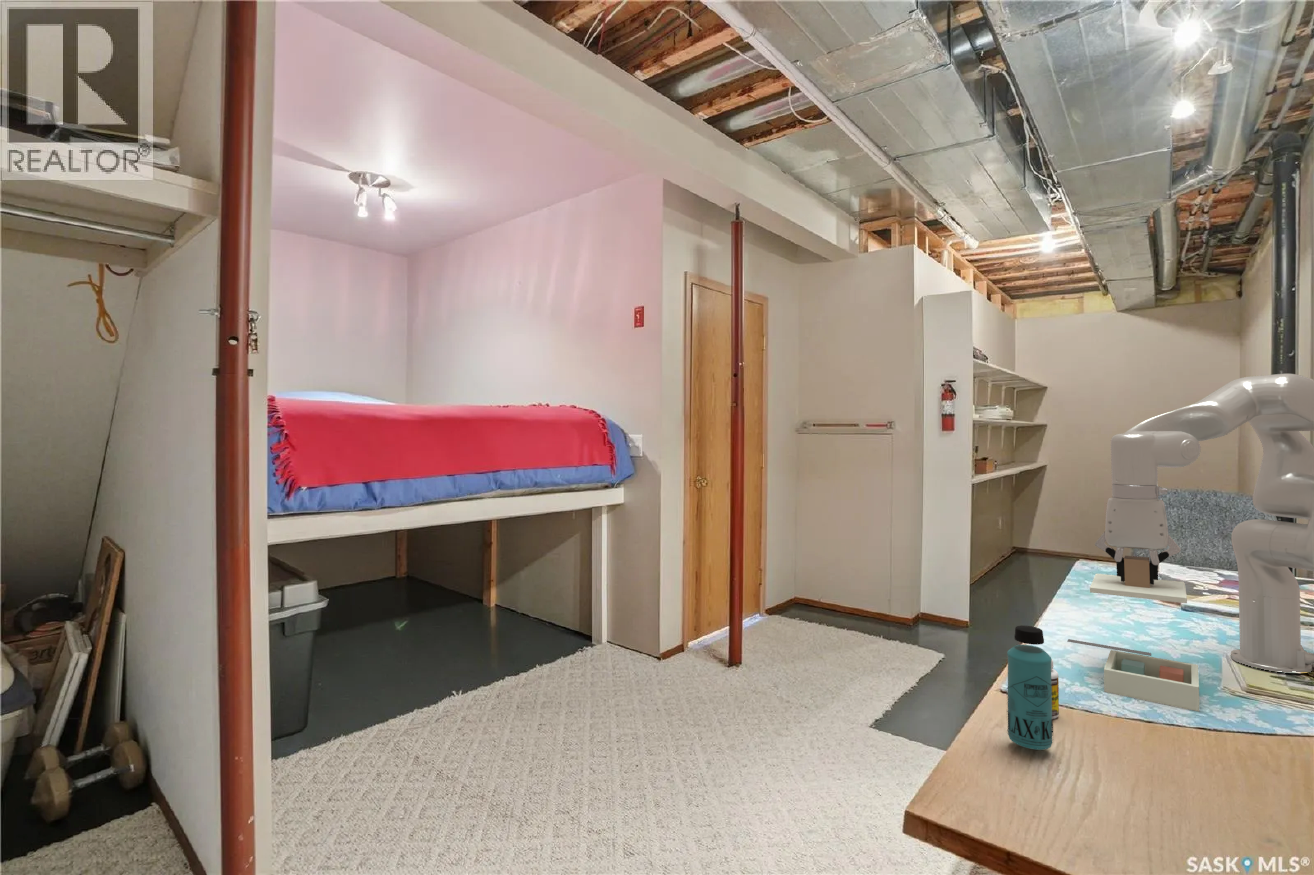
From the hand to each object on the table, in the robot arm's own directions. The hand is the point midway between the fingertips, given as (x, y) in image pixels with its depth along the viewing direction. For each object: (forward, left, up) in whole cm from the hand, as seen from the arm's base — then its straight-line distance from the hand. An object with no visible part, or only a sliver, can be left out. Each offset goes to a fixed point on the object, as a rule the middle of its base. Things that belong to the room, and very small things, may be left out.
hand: (1137, 580), depth 126 cm
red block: (-5, +2, -20) cm, 21 cm away
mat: (+7, -13, -21) cm, 26 cm away
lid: (0, 0, -2) cm, 2 cm away
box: (-2, +5, -21) cm, 22 cm away
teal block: (+1, +2, -20) cm, 20 cm away
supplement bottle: (+13, +29, -21) cm, 38 cm away
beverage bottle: (+12, +45, -21) cm, 51 cm away
